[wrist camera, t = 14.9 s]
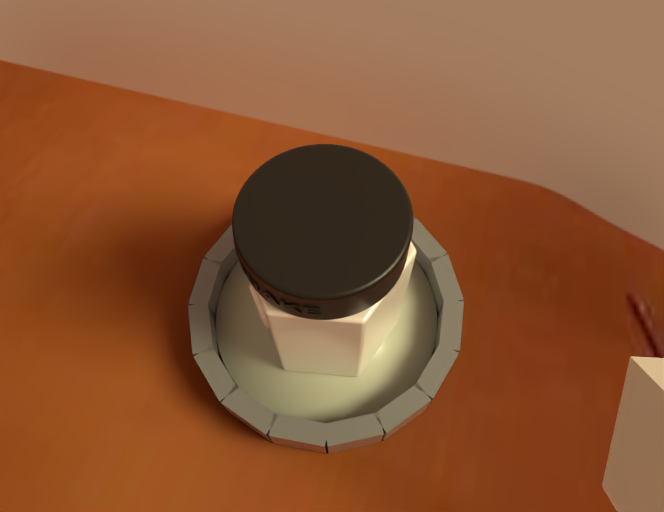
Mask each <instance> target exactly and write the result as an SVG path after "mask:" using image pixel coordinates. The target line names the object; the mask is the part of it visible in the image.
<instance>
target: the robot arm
mask: <svg viewBox="0 0 664 512" xmlns="http://www.w3.org/2000/svg"><path fill="white" fill-rule="evenodd" d="M602 487H603V489H604V490H605V492H606V494H607V495H608V497H609V499H610V501H611V502H612V504H613V506H614V507H615V509H616V511H617V512H664V358H650V357H631V356H630V360H629V365H628V370H627V374H626V379H625V383H624V388H623V392H622V397H621V401H620V406H619V410H618V415H617V420H616V424H615V429H614V433H613V438H612V442H611V447H610V451H609V456H608V461H607V465H606V470H605V474H604V479H603V483H602Z"/></svg>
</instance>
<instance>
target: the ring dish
mask: <svg viewBox="0 0 664 512" xmlns="http://www.w3.org/2000/svg"><path fill="white" fill-rule="evenodd" d="M413 220H414V223H413V234H412V238H411V242H412V243H413V245H414V247H415V249H416V257H415V260H414V264H413V268H412V272H411V276H410V280H409V284H408V287H407V291H406V295H405V299H404V303H403V307H402V311H401V314H400V318H399V321H398V322H397V324H396V325H395V327H394V328H393V330H392V331H391V332H390V334H389V335H388V337H387V338H386V339H385V341H384V342H383V344H382V345H381V347H380V348H379V349H378V351H377V352H376V354H375V355H374V357H373V358H372V359H371V361H370V362H369V364H368V365H367V367H366V368H365V369H364V371H363V372H362V374H361V375H360V376H359V377H351V376H340V375H330V374H319V373H308V372H298V371H287V370H284V369H283V367H282V365H281V363H280V360H279V358H278V355H277V353H276V351H275V348H274V346H273V344H272V341H271V339H270V336H269V334H268V332H267V329H266V328H265V327H264V326H263V323H262V321H261V319H260V317H259V314H258V311H257V309H256V306H255V303H254V301H253V298H252V296H251V293H250V290H249V288H248V286H249V282H248V279H247V276H246V275H245V273H244V272H243V270H242V267H241V265H240V262H239V260H238V257H237V254H236V251H235V245H234V241H233V233H232V224H231V225H230V227H229V228H228V229H227V230H226V231H225V233H224V234H223V235H222V236H221V237H220V238H219V240H218V241H217V242H216V243H215V244H214V245H213V247H212V248H211V249H210V250H209V251H208V253H207V254H206V255H205V256H204V257H205V259H203V260H202V263H201V266H200V269H199V272H198V275H197V278H196V281H195V284H194V287H193V290H192V293H191V296H190V299H189V302H188V304H189V306H188V313H189V323H190V333H191V344H192V354H193V355H194V359H195V360H196V362H197V364H198V366H199V367H200V369H201V371H202V372H203V374H204V376H205V378H206V379H207V381H208V383H209V384H210V386H211V388H212V390H213V391H214V393H215V395H216V396H217V398H218V400H219V401H220V403H221V404H222V405H223V406H224V407H225V409H226V410H227V411H228V412H229V413H230V414H232V415H233V416H234V417H236V418H237V419H239V420H240V421H242V422H243V423H244V424H246V425H247V426H249V427H250V428H251V429H253V430H254V431H256V432H257V433H259V434H260V435H261V436H263V437H264V438H266V439H267V440H269V441H270V442H273V443H274V444H279V445H284V446H289V447H294V448H299V449H304V450H309V451H315V452H320V453H325V454H326V451H327V448H328V453H329V454H330V453H334V452H339V451H343V450H348V449H352V448H357V447H361V446H366V445H370V444H375V443H379V442H381V440H383V441H384V440H385V439H387V438H388V437H390V436H391V435H392V434H394V433H395V432H396V431H398V430H399V429H400V428H402V427H403V426H405V425H406V424H407V423H409V422H410V421H411V420H413V419H414V418H415V417H417V416H418V415H420V414H421V413H422V412H424V411H425V410H426V408H427V407H428V406H429V404H430V403H431V401H432V399H433V398H434V396H435V394H436V392H437V391H438V389H439V387H440V385H441V384H442V382H443V380H444V378H445V377H446V375H447V373H448V371H449V370H450V368H451V366H452V364H453V363H454V361H455V359H456V357H457V356H458V354H459V353H458V352H459V351H460V341H461V330H462V318H463V306H464V302H462V301H463V296H462V293H461V290H460V287H459V285H458V282H457V279H456V276H455V273H454V270H453V267H452V264H451V261H450V259H449V256H448V255H446V254H447V252H446V251H445V250H444V249H443V248H442V247H441V245H440V244H439V243H438V242H437V241H436V240H435V239H434V238H433V236H432V235H431V234H430V233H429V232H428V231H427V230H426V228H425V227H424V226H423V225H422V224H421V223H420V222H419V221H418V219H417V218H416V219H414V216H413ZM433 349H434V350H433ZM432 352H433V356H432V357H431V355H432ZM221 357H222V360H223V363H224V364H225V366H226V368H227V369H226V368H225V366H224V364H223V363H222V361H221ZM430 358H431V359H430ZM227 370H228V371H227ZM233 380H234V381H233ZM235 383H236V384H235ZM236 385H237V386H238V387H239V388H238V387H237V386H236Z"/></svg>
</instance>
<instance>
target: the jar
mask: <svg viewBox="0 0 664 512" xmlns="http://www.w3.org/2000/svg"><path fill="white" fill-rule="evenodd" d="M413 223H414V220H413V210H412V205H411V201H410V198H409V196H408V193H407V191H406V189H405V187H404V186H403V184H402V182H401V181H400V180H399V178H398V177H397V176H396V175H395V173H394V172H393V171H392V170H391V169H390V168H388V167H387V166H386V165H385V164H384V163H382V162H381V161H379V160H378V159H376V158H375V157H373V156H371V155H369V154H367V153H365V152H363V151H360V150H357V149H354V148H351V147H347V146H342V145H334V144H314V145H307V146H301V147H297V148H294V149H291V150H288V151H285V152H283V153H281V154H279V155H277V156H275V157H273V158H271V159H270V160H268V161H267V162H265V163H264V164H263V165H261V166H260V167H259V168H258V169H257V170H256V171H255V172H254V173H253V174H252V175H251V176H250V177H249V178H248V180H247V181H246V182H245V184H244V185H243V187H242V189H241V190H240V192H239V194H238V196H237V199H236V202H235V205H234V209H233V215H232V233H233V241H234V245H235V251H236V254H237V257H238V260H239V262H240V265H241V267H242V270H243V272H244V273H245V275H246V276H247V279H248V282H249V286H248V288H249V290H250V293H251V296H252V298H253V301H254V303H255V306H256V309H257V311H258V314H259V317H260V319H261V321H262V323H263V326H264V327H265V328H266V329H267V332H268V334H269V336H270V339H271V341H272V344H273V346H274V348H275V351H276V353H277V355H278V358H279V360H280V363H281V365H282V367H283V369H284V370H287V371H298V372H308V373H319V374H330V375H340V376H351V377H359V376H360V375H361V374H362V372H363V371H364V369H365V368H366V367H367V365H368V364H369V362H370V361H371V359H372V358H373V357H374V355H375V354H376V352H377V351H378V349H379V348H380V347H381V345H382V344H383V342H384V341H385V339H386V338H387V337H388V335H389V334H390V332H391V331H392V330H393V328H394V327H395V325H396V324H397V322H398V321H399V318H400V314H401V311H402V307H403V303H404V299H405V295H406V291H407V287H408V284H409V280H410V276H411V272H412V268H413V264H414V260H415V257H416V249H415V247H414V245H413V243H412V242H411V238H412V234H413Z"/></svg>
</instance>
